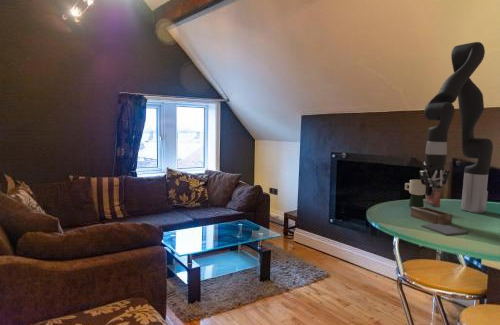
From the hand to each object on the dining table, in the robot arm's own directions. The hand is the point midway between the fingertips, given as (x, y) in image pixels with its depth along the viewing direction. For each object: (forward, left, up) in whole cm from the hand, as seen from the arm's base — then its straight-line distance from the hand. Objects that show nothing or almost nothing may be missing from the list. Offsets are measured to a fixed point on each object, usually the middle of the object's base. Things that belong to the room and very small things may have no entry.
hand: (432, 194), depth 141 cm
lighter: (0, 0, -5) cm, 5 cm away
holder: (0, 0, -10) cm, 10 cm away
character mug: (-10, -18, -10) cm, 23 cm away
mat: (+7, +13, -10) cm, 18 cm away
